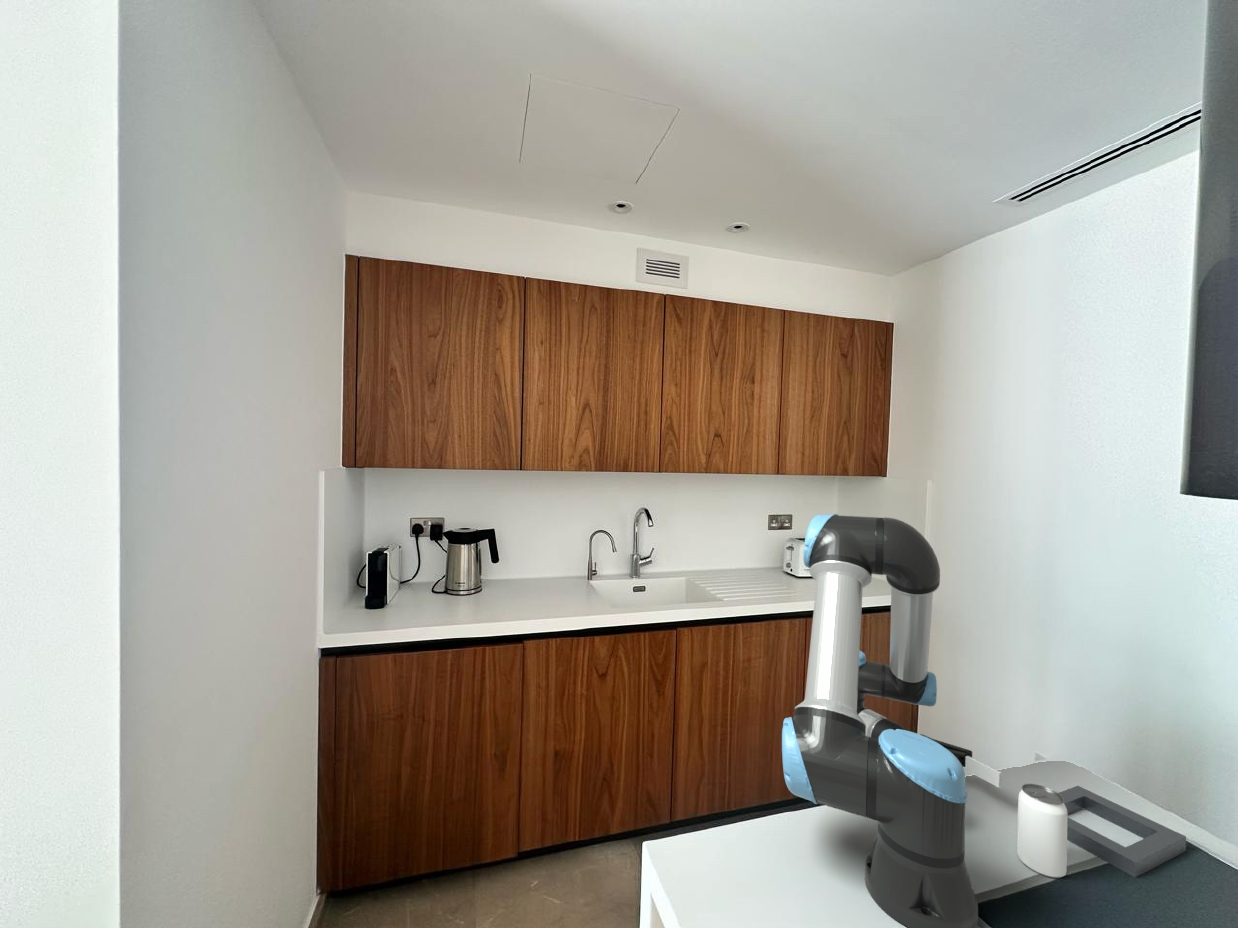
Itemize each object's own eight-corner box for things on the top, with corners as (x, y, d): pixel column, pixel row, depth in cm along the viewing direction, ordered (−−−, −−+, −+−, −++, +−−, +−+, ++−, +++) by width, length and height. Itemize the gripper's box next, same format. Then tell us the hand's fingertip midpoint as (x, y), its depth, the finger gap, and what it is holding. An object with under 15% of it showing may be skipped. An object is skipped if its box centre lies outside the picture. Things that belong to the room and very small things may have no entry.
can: (1076, 882, 84) (1077, 808, 85) (1030, 875, 86) (1031, 802, 86) (1051, 854, 91) (1052, 784, 91) (1009, 847, 92) (1010, 779, 92)
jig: (1135, 877, 86) (1135, 862, 86) (1027, 817, 101) (1027, 804, 101) (1185, 850, 93) (1186, 836, 93) (1077, 797, 107) (1077, 785, 107)
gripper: (919, 740, 123) (1018, 793, 103) (839, 761, 113) (932, 824, 93) (919, 708, 123) (1018, 755, 103) (839, 726, 113) (932, 781, 93)
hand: (977, 788), depth 98 cm, fingers open, 13 cm apart
